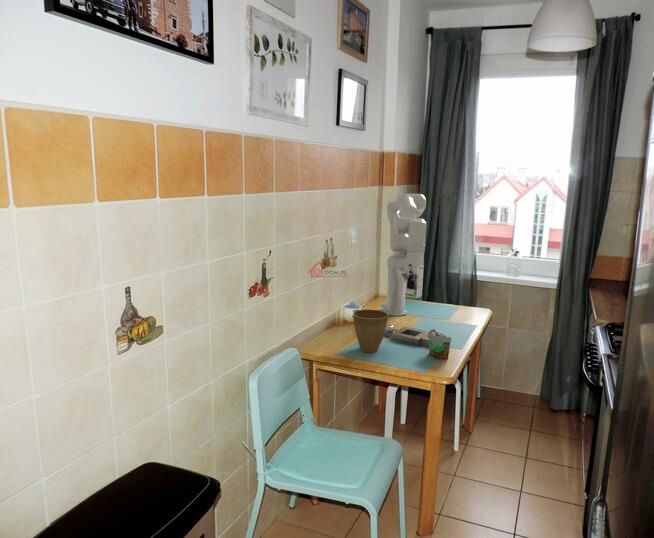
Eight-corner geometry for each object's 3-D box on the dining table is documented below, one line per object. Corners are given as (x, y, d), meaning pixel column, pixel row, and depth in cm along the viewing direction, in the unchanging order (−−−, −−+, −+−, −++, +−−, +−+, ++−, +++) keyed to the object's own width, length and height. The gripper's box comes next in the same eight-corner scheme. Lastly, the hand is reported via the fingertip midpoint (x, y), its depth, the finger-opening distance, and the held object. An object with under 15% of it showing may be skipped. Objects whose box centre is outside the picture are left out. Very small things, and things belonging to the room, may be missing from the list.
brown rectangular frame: (390, 339, 236) (391, 331, 235) (404, 332, 247) (404, 324, 246) (433, 349, 224) (433, 340, 224) (445, 341, 235) (446, 333, 235)
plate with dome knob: (377, 336, 240) (377, 328, 239) (390, 329, 251) (391, 321, 250) (417, 346, 229) (418, 337, 228) (430, 338, 239) (431, 329, 239)
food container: (420, 352, 221) (421, 330, 219) (432, 350, 223) (434, 328, 221) (437, 362, 210) (439, 339, 208) (450, 360, 212) (451, 337, 210)
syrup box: (404, 296, 234) (406, 265, 231) (411, 294, 238) (413, 263, 235) (415, 299, 230) (416, 266, 227) (422, 296, 234) (424, 265, 231)
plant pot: (393, 350, 223) (395, 314, 220) (370, 358, 213) (372, 320, 210) (367, 341, 233) (369, 306, 230) (344, 348, 223) (345, 312, 220)
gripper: (416, 245, 239) (414, 283, 242) (399, 249, 225) (397, 289, 228) (432, 246, 234) (429, 285, 238) (415, 251, 221) (412, 292, 224)
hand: (413, 287), depth 233 cm, fingers closed on syrup box, 6 cm apart
